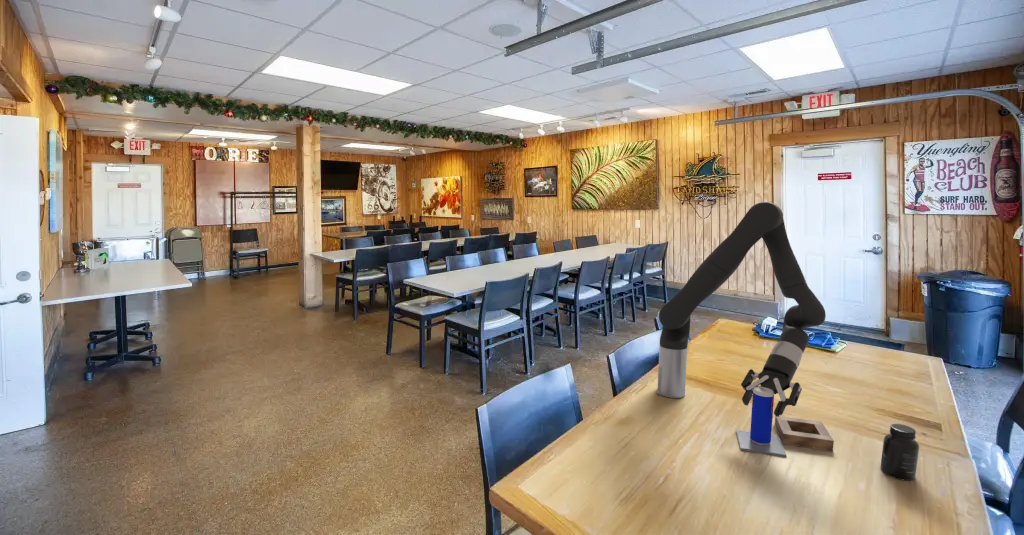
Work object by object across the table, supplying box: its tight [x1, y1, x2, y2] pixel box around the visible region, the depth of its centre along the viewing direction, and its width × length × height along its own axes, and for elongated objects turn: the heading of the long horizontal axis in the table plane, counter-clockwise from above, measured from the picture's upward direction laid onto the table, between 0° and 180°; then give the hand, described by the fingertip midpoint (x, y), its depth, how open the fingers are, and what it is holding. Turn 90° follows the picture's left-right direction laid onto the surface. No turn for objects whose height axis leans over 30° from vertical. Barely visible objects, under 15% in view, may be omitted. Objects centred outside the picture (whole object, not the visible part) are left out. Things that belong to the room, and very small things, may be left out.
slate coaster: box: [735, 429, 787, 458], centre depth 133 cm, size 11×11×1 cm
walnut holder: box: [774, 415, 835, 452], centre depth 136 cm, size 12×12×3 cm
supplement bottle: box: [880, 423, 920, 481], centre depth 117 cm, size 7×7×12 cm
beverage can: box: [749, 387, 775, 445], centre depth 132 cm, size 5×5×15 cm
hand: (760, 409), depth 130 cm, fingers open, 8 cm apart
